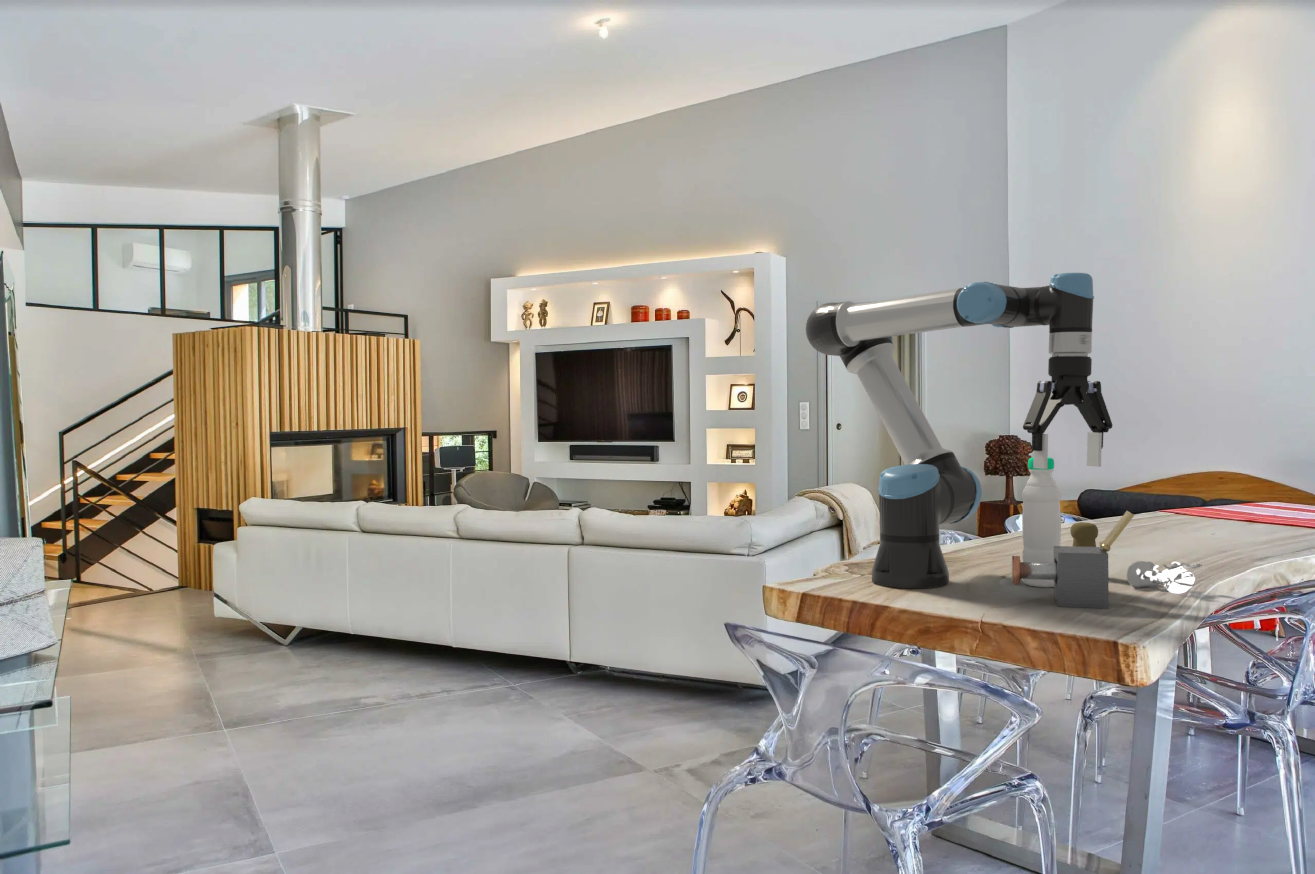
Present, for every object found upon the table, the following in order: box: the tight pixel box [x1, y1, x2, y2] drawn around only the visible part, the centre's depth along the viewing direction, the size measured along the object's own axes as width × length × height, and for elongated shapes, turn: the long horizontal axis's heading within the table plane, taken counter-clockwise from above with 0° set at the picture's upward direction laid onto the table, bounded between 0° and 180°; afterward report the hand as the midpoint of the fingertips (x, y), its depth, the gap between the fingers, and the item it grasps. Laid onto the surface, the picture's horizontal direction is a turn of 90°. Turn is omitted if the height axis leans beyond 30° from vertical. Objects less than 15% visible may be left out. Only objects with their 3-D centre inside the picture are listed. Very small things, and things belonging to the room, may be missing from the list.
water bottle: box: [1021, 456, 1062, 588], centre depth 187 cm, size 7×7×25 cm
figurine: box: [1126, 560, 1203, 595], centre depth 180 cm, size 9×6×12 cm
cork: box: [1070, 521, 1099, 547], centre depth 195 cm, size 6×6×11 cm
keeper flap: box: [1098, 510, 1135, 553], centre depth 168 cm, size 8×4×1 cm
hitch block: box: [1053, 545, 1110, 609], centre depth 170 cm, size 8×8×10 cm
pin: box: [1011, 555, 1057, 586], centre depth 171 cm, size 13×5×5 cm, turn 73°
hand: (1067, 467), depth 182 cm, fingers open, 13 cm apart
